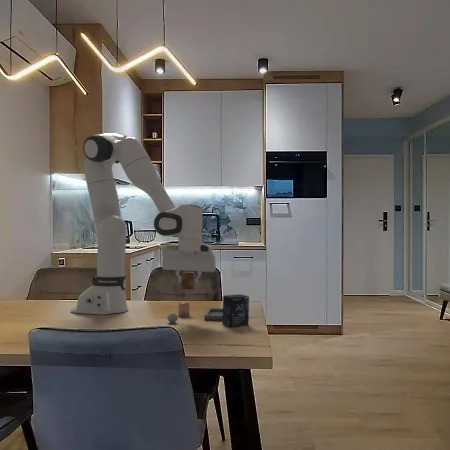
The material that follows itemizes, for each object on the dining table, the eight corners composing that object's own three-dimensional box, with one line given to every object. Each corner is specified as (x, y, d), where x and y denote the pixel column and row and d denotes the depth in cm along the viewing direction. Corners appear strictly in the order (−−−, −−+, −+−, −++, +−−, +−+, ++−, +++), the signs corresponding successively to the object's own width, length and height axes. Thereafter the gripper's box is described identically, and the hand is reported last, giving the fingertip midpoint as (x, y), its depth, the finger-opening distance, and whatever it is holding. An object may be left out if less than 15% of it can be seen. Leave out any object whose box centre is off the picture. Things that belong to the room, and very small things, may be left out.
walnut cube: (181, 288, 193) (181, 272, 193) (182, 287, 198) (183, 271, 198) (193, 289, 193) (193, 273, 193) (194, 288, 197) (195, 272, 197)
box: (231, 327, 181) (231, 297, 181) (222, 324, 186) (222, 295, 186) (249, 325, 186) (249, 295, 186) (240, 322, 190) (240, 293, 190)
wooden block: (177, 316, 201) (177, 303, 201) (179, 314, 206) (179, 301, 205) (188, 316, 201) (188, 303, 201) (190, 314, 205) (190, 301, 205)
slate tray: (204, 320, 194) (204, 315, 194) (208, 312, 210) (208, 308, 210) (241, 321, 193) (241, 316, 193) (243, 313, 209) (243, 308, 209)
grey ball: (166, 323, 187) (166, 313, 187) (168, 321, 190) (168, 311, 190) (176, 323, 186) (176, 313, 186) (178, 321, 190) (178, 312, 190)
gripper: (160, 245, 193) (159, 282, 193) (215, 247, 191) (214, 285, 192) (163, 244, 199) (162, 280, 199) (216, 247, 198) (215, 283, 198)
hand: (188, 282), depth 195 cm, fingers closed on walnut cube, 4 cm apart
